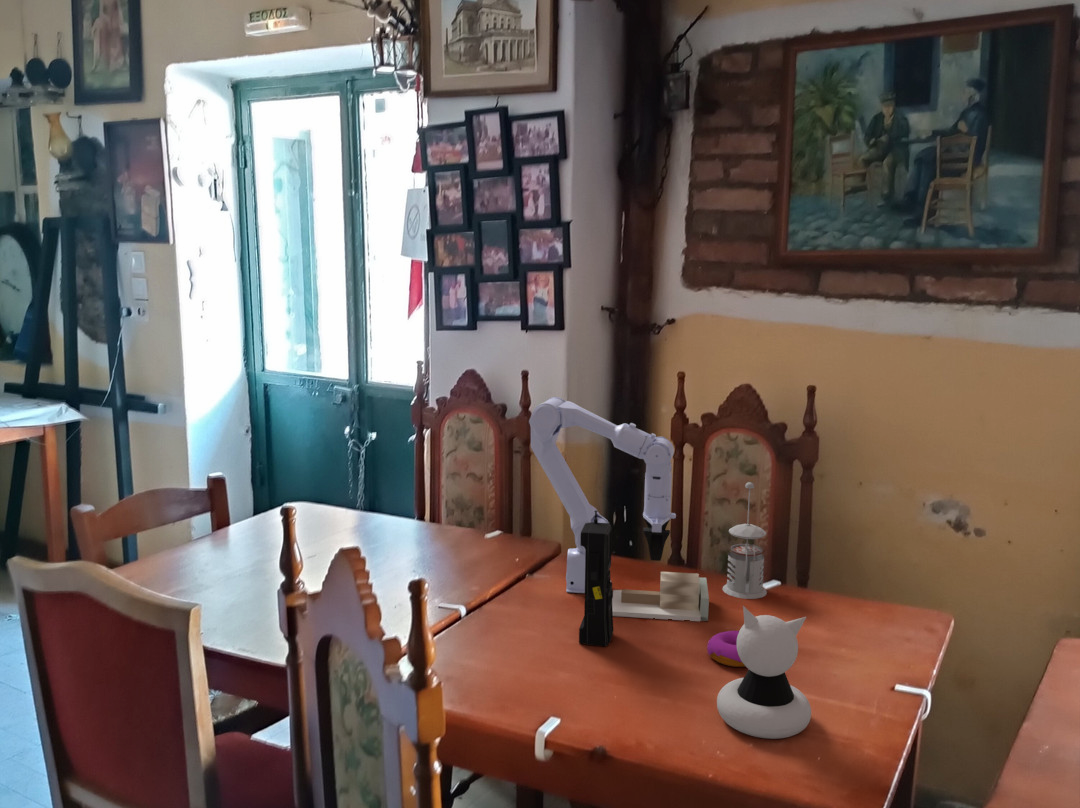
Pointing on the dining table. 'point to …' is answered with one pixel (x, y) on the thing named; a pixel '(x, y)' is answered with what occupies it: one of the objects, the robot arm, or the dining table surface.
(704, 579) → the board
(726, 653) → the donut
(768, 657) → the decorative figurine
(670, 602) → the saddle block
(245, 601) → the dining table surface
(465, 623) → the dining table surface
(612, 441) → the robot arm
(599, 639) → the portable radio
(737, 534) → the french press
